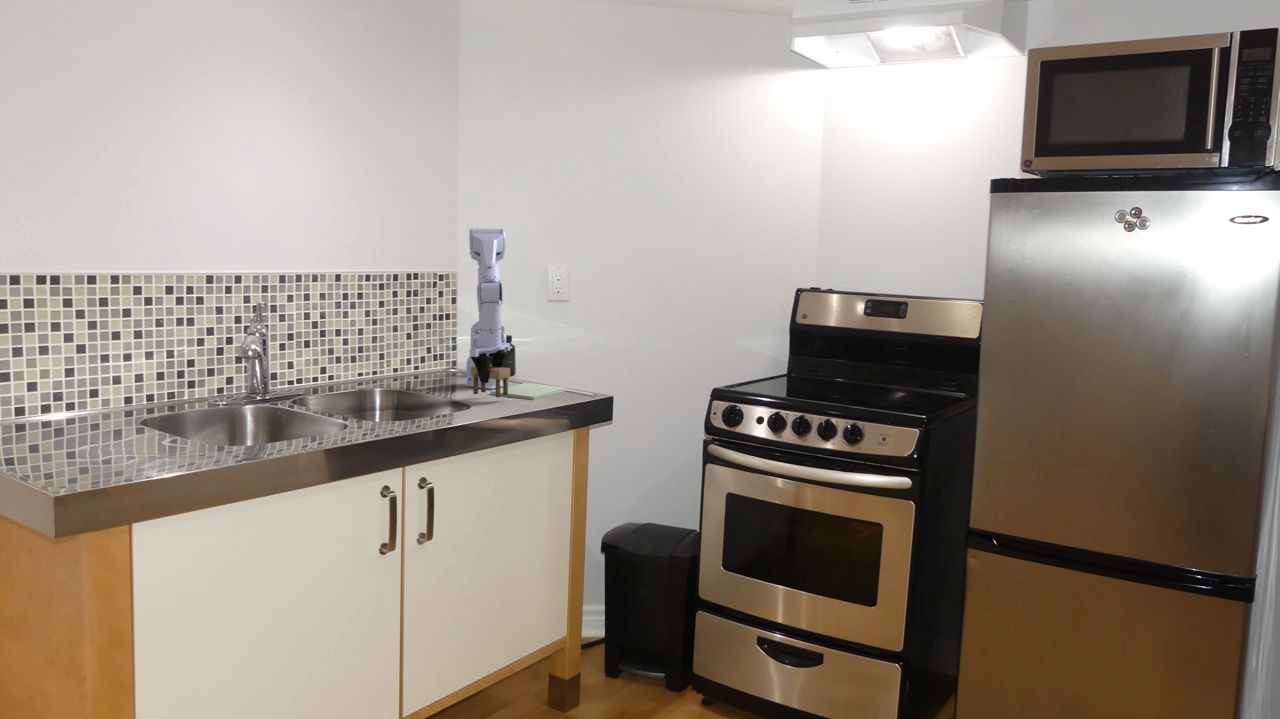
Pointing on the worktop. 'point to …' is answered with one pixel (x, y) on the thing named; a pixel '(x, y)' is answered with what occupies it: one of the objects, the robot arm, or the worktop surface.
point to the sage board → (531, 391)
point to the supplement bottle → (511, 357)
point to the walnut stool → (493, 374)
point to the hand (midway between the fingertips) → (490, 380)
